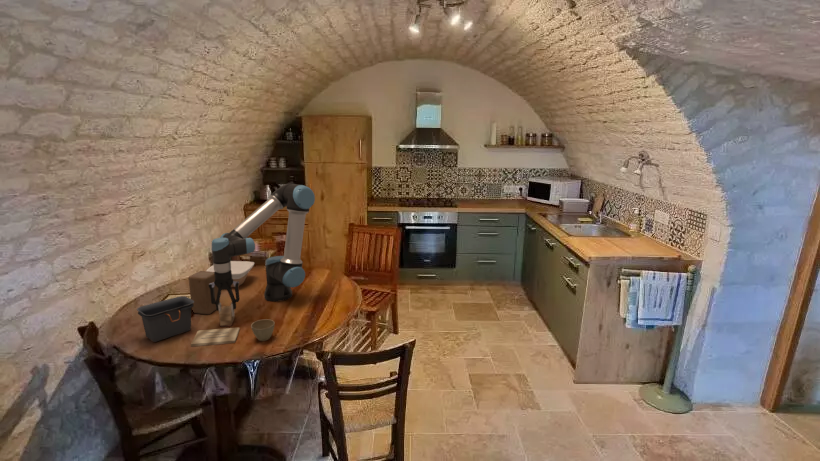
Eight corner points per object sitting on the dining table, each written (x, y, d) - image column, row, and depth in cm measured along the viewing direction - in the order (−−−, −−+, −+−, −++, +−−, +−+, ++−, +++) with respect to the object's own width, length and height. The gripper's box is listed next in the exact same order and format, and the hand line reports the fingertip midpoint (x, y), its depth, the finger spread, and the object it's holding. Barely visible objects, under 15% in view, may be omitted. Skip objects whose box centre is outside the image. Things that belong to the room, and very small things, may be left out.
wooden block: (208, 315, 218) (205, 278, 213) (191, 313, 220) (187, 276, 215) (221, 307, 228) (217, 271, 223) (204, 305, 230) (200, 270, 225)
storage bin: (186, 321, 211) (183, 294, 207) (201, 331, 202) (199, 302, 198) (138, 337, 194) (134, 308, 191) (153, 348, 185) (148, 317, 182)
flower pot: (255, 333, 200) (254, 319, 198) (277, 333, 201) (276, 318, 199) (249, 344, 190) (248, 329, 189) (272, 343, 191) (271, 328, 190)
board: (239, 329, 204) (239, 327, 203) (235, 342, 191) (234, 340, 191) (198, 332, 200) (198, 330, 199) (191, 346, 187) (190, 344, 187)
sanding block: (234, 317, 215) (233, 305, 214) (231, 325, 207) (230, 313, 205) (223, 318, 214) (222, 306, 213) (220, 326, 206) (219, 314, 204)
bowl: (244, 291, 250) (243, 274, 248) (202, 290, 251) (200, 273, 248) (258, 277, 274) (257, 261, 271) (220, 276, 274) (218, 260, 271)
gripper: (244, 266, 210) (247, 311, 215) (204, 269, 206) (208, 314, 211) (241, 271, 203) (245, 317, 208) (200, 274, 199) (205, 320, 204)
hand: (227, 315), depth 210 cm, fingers closed on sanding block, 5 cm apart
